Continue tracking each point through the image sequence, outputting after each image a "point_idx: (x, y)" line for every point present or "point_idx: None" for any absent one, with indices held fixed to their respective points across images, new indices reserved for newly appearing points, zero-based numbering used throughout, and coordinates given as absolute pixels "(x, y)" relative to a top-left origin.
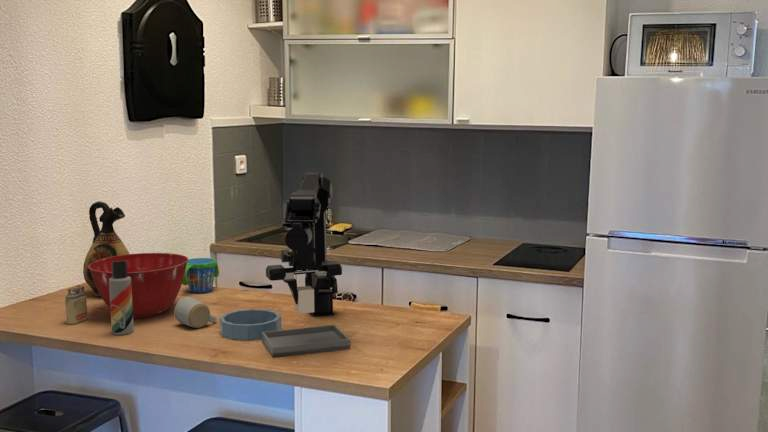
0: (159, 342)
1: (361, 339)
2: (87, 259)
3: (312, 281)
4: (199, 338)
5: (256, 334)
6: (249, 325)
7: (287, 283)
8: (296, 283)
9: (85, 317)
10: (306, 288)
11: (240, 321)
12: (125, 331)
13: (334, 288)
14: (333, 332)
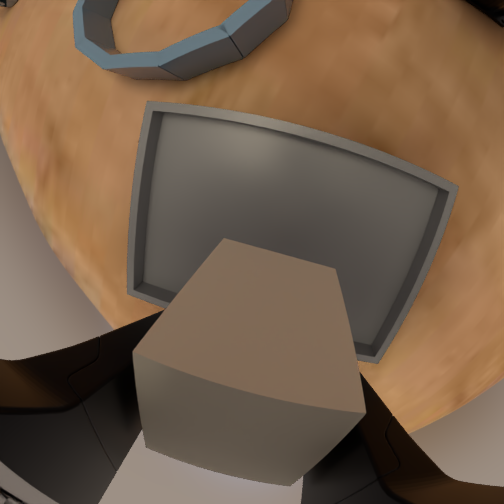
0: (16, 50)
1: (453, 289)
2: None
3: (372, 492)
4: (62, 32)
5: (150, 75)
6: (107, 69)
7: (16, 368)
8: (99, 497)
9: None
10: (246, 456)
11: None
12: (10, 3)
13: None
14: (427, 207)
